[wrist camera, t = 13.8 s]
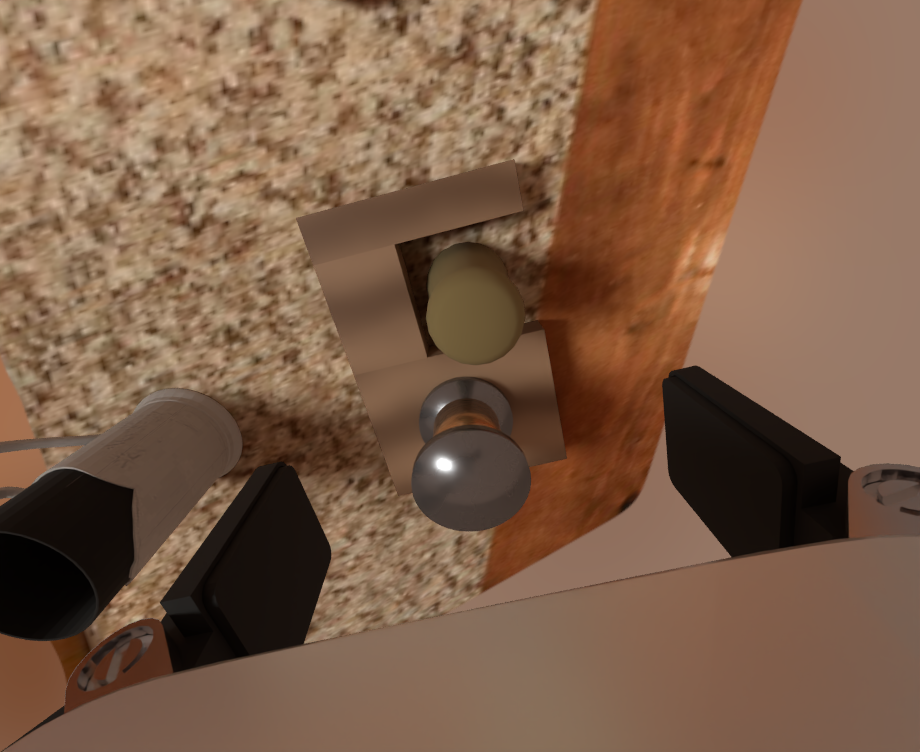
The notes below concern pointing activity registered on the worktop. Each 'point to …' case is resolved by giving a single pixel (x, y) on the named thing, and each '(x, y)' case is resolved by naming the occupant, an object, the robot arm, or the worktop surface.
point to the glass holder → (105, 510)
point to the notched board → (398, 321)
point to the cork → (473, 305)
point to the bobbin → (469, 457)
